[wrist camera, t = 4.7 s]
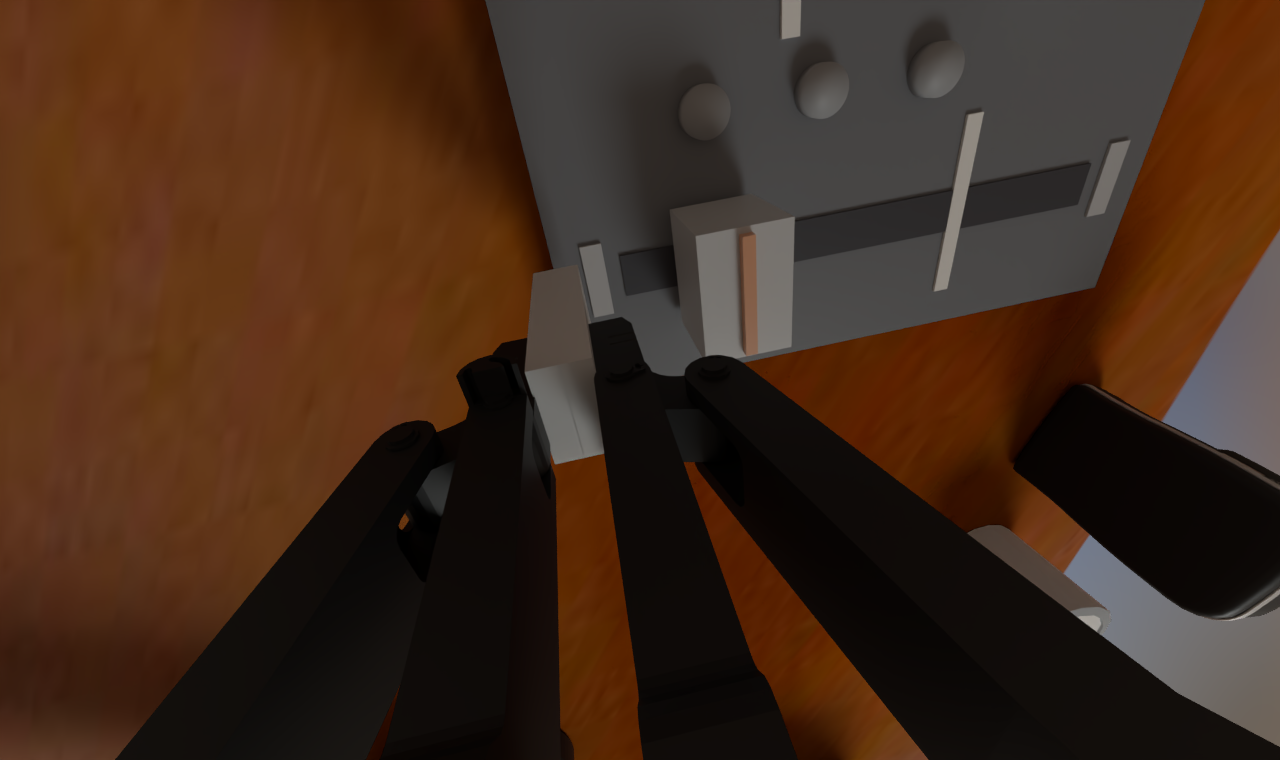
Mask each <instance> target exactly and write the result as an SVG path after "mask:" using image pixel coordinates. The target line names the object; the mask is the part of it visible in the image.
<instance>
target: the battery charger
mask: <svg viewBox="0 0 1280 760" xmlns="http://www.w3.org/2000/svg"><path fill="white" fill-rule="evenodd" d="M1013 469H1014V470H1015V471H1016V472H1017V473H1018V474H1020V475H1021V476H1022V477H1024V478H1025V479H1026V480H1027V481H1029V482H1030V483H1031V484H1033V485H1034V486H1035V487H1036V488H1037V489H1038V490H1040V491H1041V492H1042V493H1043V494H1045V495H1046V496H1047V497H1048V498H1050V499H1051V500H1052V501H1053V502H1054V503H1055V504H1057V505H1058V506H1059V507H1060V508H1061V509H1062V510H1063V511H1064V512H1065V513H1066V514H1068V515H1069V516H1070V517H1071V518H1072V519H1073V520H1074V521H1075V522H1076V523H1077V524H1079V525H1080V526H1081V527H1082V528H1083V529H1084V530H1085V531H1086V532H1088V533H1089V534H1090V535H1091V536H1092V537H1093V538H1094V539H1095V540H1097V541H1098V542H1099V543H1100V544H1101V545H1102V546H1103V547H1104V548H1106V549H1107V550H1108V551H1109V552H1110V553H1112V554H1113V555H1114V556H1115V557H1116V558H1117V559H1119V560H1120V561H1121V562H1122V563H1123V564H1125V565H1126V566H1127V567H1128V568H1130V569H1131V570H1132V571H1133V572H1134V573H1136V574H1137V575H1138V576H1140V577H1141V578H1142V579H1143V580H1144V581H1146V582H1147V583H1148V584H1149V585H1151V586H1152V587H1153V588H1154V589H1156V590H1157V591H1158V592H1160V593H1161V594H1162V595H1163V596H1165V597H1166V598H1167V599H1169V600H1170V601H1172V602H1173V603H1175V604H1176V605H1178V606H1179V607H1181V608H1182V609H1184V610H1187V611H1189V612H1191V613H1193V614H1196V615H1198V616H1202V617H1204V618H1208V619H1212V620H1219V621H1226V620H1238V619H1242V618H1244V617H1254V616H1261V615H1264V614H1266V613H1269V612H1271V611H1273V610H1275V609H1277V608H1278V607H1280V476H1279V475H1277V474H1275V473H1274V472H1272V471H1270V470H1268V469H1266V468H1265V467H1263V466H1261V465H1259V464H1257V463H1255V462H1253V461H1251V460H1249V459H1247V458H1245V457H1243V456H1241V455H1239V454H1237V453H1236V452H1233V451H1229V450H1220V449H1216V448H1214V447H1212V446H1210V445H1208V444H1206V443H1204V442H1202V441H1200V440H1198V439H1196V438H1194V437H1192V436H1190V435H1188V434H1186V433H1184V432H1182V431H1180V430H1178V429H1176V428H1174V427H1172V426H1170V425H1167V424H1165V423H1163V422H1161V421H1159V420H1157V419H1155V418H1153V417H1151V416H1149V415H1147V414H1146V413H1144V412H1142V411H1140V410H1138V409H1137V408H1135V407H1133V406H1131V405H1130V404H1128V403H1126V402H1125V401H1123V400H1122V399H1120V398H1119V397H1117V396H1115V395H1113V394H1111V393H1109V392H1107V391H1106V390H1104V389H1102V388H1099V387H1095V386H1093V385H1090V384H1081V385H1075V386H1073V387H1072V388H1071V389H1070V391H1069V392H1068V393H1067V394H1066V395H1065V396H1064V398H1063V399H1062V400H1061V401H1060V402H1059V403H1058V405H1057V406H1056V407H1055V408H1054V410H1053V411H1052V412H1051V414H1050V415H1049V416H1048V417H1047V419H1046V420H1045V421H1044V423H1043V424H1042V425H1041V426H1040V428H1039V429H1038V431H1037V432H1036V433H1035V435H1034V436H1033V438H1032V439H1031V440H1030V442H1029V443H1028V445H1027V446H1026V447H1025V449H1024V450H1023V452H1022V453H1021V455H1020V457H1019V458H1018V460H1017V461H1016V463H1015V464H1014V468H1013Z"/></svg>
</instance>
